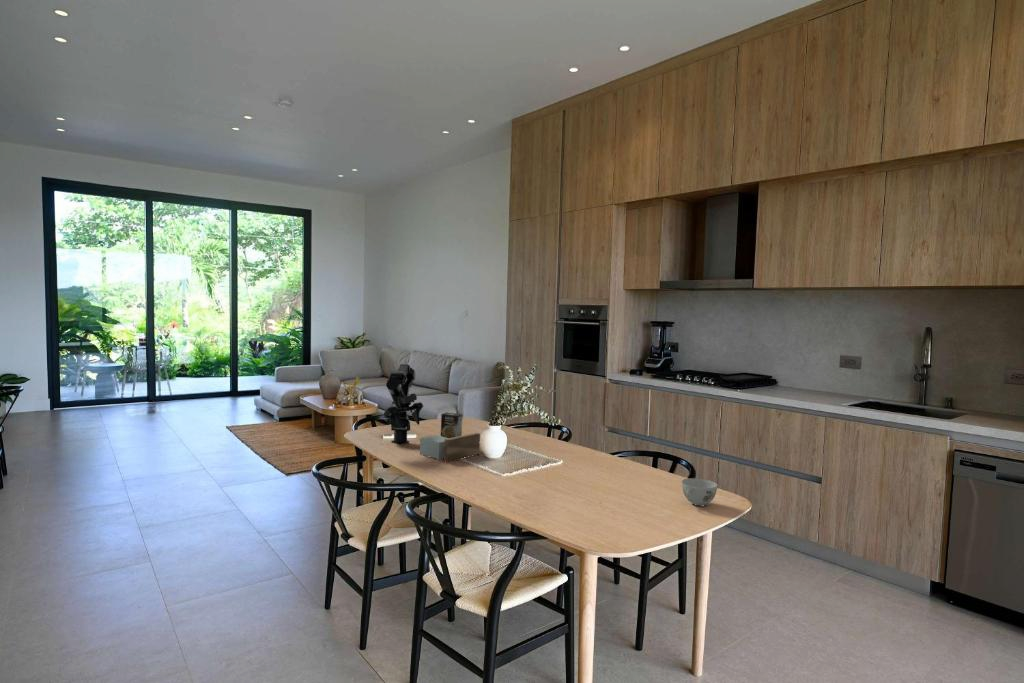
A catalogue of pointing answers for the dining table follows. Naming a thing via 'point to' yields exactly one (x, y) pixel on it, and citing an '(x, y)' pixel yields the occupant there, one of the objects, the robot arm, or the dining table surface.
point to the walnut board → (461, 447)
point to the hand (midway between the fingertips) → (410, 425)
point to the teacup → (699, 490)
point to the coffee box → (451, 425)
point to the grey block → (432, 446)
